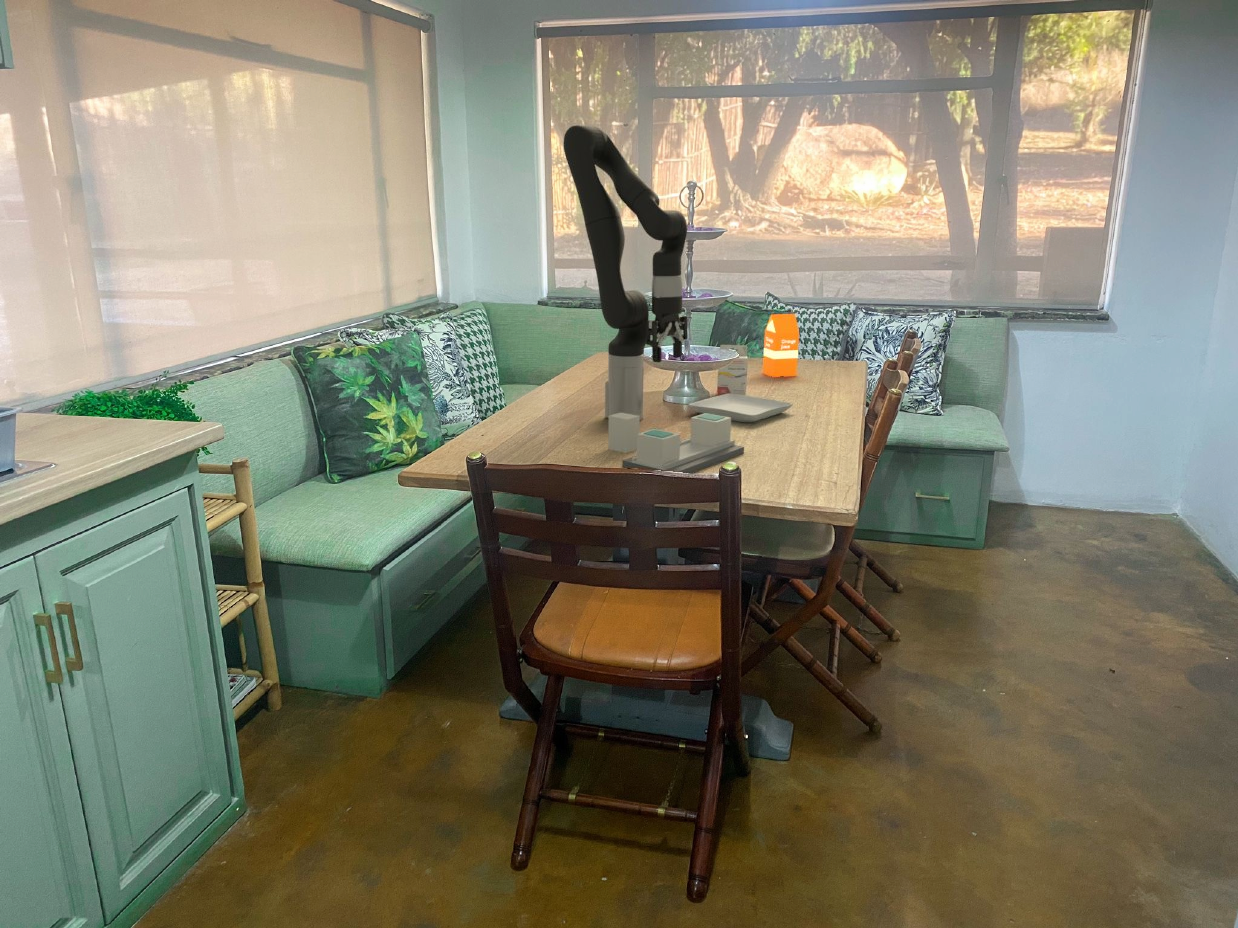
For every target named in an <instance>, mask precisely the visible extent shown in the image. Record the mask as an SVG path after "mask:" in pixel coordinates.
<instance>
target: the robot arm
mask: <svg viewBox="0 0 1238 928" xmlns="http://www.w3.org/2000/svg"><path fill="white" fill-rule="evenodd" d="M563 153H564V156H565V158H566V162H567V165H568V168H569V171H570V173H571V177H572V179H573V183H574V185H575V188H576V193H577V198H578V200H579V203H580V204H579V205H580V207H581V212H582V216H583V220H584V226H585V231H586V235H587V238H588V242H589V246H590V249H591V253H592V259H593V263H594V268H595V273H596V279H597V286H598V292H599V301H600V308H601V313H602V316H603V318H604V321H605V322H606V324H607V325H608V326H609V327H610V328H612V329H614V330H618V332H617V334H616V336H615V337H614V338H613V339H611V341H610V342H609V343H608V349H607V350H608V354H607V355H608V358H607V359H608V360H607V361H608V365H607V366H608V367H607V368H608V372H607V373H608V376H607V379H608V380H607V381H605V385H604V396H605V397H604V413H605V414H604V417H605V418H607V419H609V416H610V415H613V414H617V413H627V414H632V415H637V416H639V421H641V420H643V418H644V417H643V416H644V360H645V358H644V355H645V354H644V353H645V347H646V345H647V346H650V347H651V351H652V352H651V355H652V356H651V357H652V362H653V363H661V362H662V344H663V342H664V340H666V338H667V337H670V338H671V340H672V342H673V343H672V355H673V356H672V357H673V358H676V359H681V358H682V357H683V355H682V354H683V343H684V341H685V340H688V338H689V335H688V333H689V332H688V330H689V329H688V317H687V316H686V315H680V314H682V313H683V281H682V279H683V278H682V255H683V252H684V249H685V244H686V240H687V235H688V224H687V219H686V217H685V215H684V214H683V213H682V212H681V211H679V210H676V209H675V210H674V209H672V210H671V209H669V210H668V209H665V210H664V209H662V208H661V207H660V198H659V196H658V194H657V193H656V192H655V190H653V189H652V188H651V187H650V186H649V185H648V184H647V183H646V182H645V180H643V179H642V178H641V177H640V175H639V174H638V173H636V171H634V170H633V168H632V167H631V166H630V164H629V163H628V161H627V160H626V159H625V157H624V156H623V155H622V153H621V152H620V150H619V149H618V148H617V146H616V144H615V143H614V141H613V140H612V139H611V137H610V136H609V134H608V133H607V132H605V130H604V129H603V128H600V127H598V126H590V125H582V124H581V125H572V126H570V127H568V129H567V130H566V131H565V134H564V136H563ZM596 167H598V168H599V169H601V170H602V171H603V172H605V173H606V174H607V175H608V177H609V178H610V179H611V181H612V183H613V185H614V189H615V191H616V194H617V195H618V197H619V198H620V200H621V201H622V202H623V203H624V205H626V206H627V208H628V209H629V210H631V211H632V213H634V215H635V216H636V219H638V222H639V224H640V226H641V227H642V228H643V230H644V231H645V233H646V235H648V236H650V237H651V238H652V239H653V240H656V241H659V242H661V247H660V249H659V250H657V251H656V252H654V253H653V256H652V280H651V314H653V315H655V318H654V320H649V314H650V313H649V311H650V309H649V304H648V301H647V298H646V297H645V294H643V293H642V292H640V291H638V290H625V287H624V283H623V280H622V273H621V266H622V265H621V264H622V258H623V254H624V249H625V239H626V237H625V236H626V235H625V231H624V230H625V229H624V225H623V221H622V218H621V214H620V211H619V209H618V206H617V205H616V203H615V202H614V200H613V199H612V197H611V196H610V195H609V193H608V192H607V190H606V188H605V187H604V186H603V184H602V182H601V180H600V177H599V176H598V171H597V168H596ZM682 331H683V332H682ZM682 333H683V334H682ZM651 338H652V339H651Z"/></svg>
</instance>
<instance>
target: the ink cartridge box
mask: <svg viewBox="0 0 1238 928" xmlns="http://www.w3.org/2000/svg"><path fill="white" fill-rule="evenodd" d="M720 349H726V350H729V351H730V350H732V349H735V350H733V351H734V352H737V353H738V354H739V358H736V360H734V361H733V362H732V363H731V364H729V365H728V366H726V367H724V368H722V369H719V370H718V369H717V389H716V393H717V394H716V395H717V396H720V395H724V394H729V393H731V394H738V395H745V396H747V382H748V381H747V379H748V362H749V361H748V353H747V352H748V346H747V344H746V345H741V344H740V345H738V344H720V346H719V350H720Z"/></svg>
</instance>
